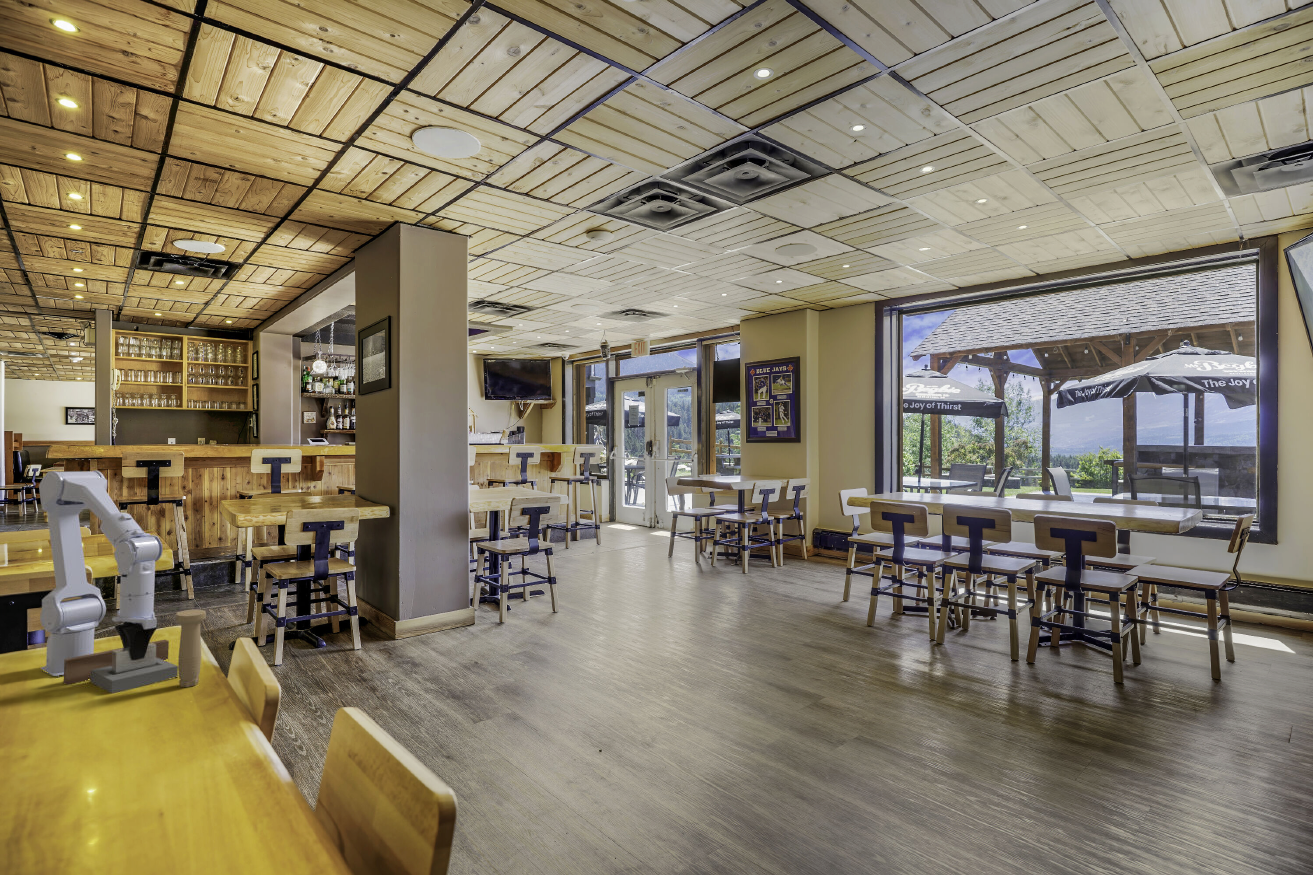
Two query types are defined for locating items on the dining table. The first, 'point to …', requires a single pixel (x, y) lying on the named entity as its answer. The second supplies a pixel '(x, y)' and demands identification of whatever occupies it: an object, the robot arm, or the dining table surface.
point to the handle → (190, 646)
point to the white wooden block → (125, 664)
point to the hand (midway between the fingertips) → (135, 657)
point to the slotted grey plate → (132, 676)
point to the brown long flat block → (100, 662)
